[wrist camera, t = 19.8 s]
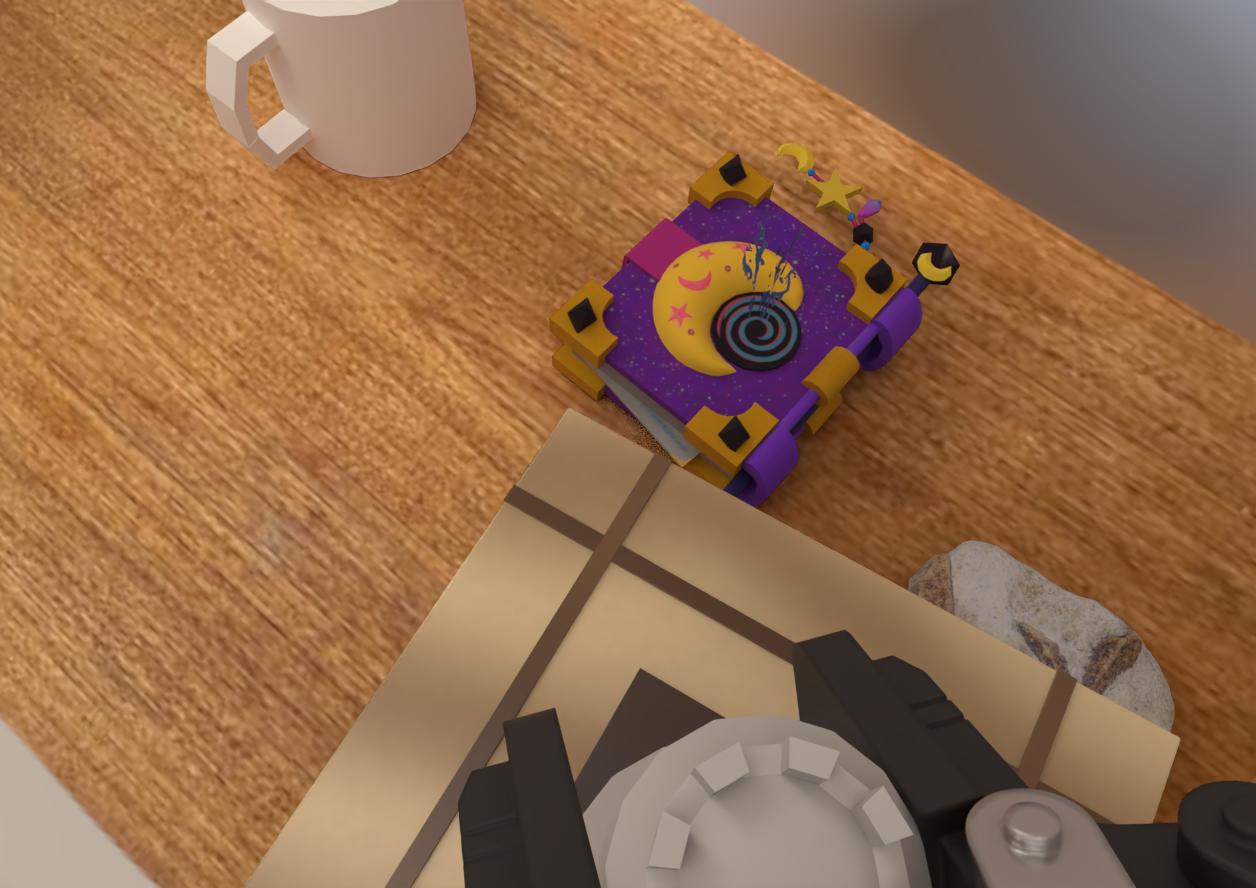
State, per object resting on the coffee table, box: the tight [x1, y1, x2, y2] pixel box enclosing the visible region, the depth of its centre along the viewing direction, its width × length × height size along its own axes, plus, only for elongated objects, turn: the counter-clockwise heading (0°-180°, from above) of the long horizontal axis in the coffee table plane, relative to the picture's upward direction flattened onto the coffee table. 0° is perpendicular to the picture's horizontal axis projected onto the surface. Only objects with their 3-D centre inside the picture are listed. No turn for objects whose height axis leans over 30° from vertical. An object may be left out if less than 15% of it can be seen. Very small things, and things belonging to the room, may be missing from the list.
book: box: [549, 143, 960, 506], centre depth 43 cm, size 14×25×12 cm, turn 139°
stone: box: [908, 540, 1175, 733], centre depth 42 cm, size 12×9×3 cm
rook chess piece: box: [583, 713, 932, 888], centre depth 13 cm, size 4×4×8 cm
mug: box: [206, 0, 477, 178], centre depth 50 cm, size 14×10×11 cm
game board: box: [243, 408, 1180, 888], centre depth 19 cm, size 14×14×1 cm
